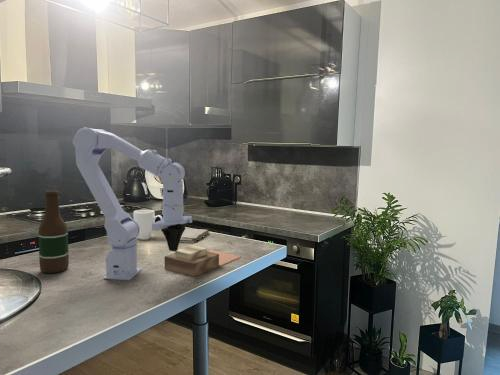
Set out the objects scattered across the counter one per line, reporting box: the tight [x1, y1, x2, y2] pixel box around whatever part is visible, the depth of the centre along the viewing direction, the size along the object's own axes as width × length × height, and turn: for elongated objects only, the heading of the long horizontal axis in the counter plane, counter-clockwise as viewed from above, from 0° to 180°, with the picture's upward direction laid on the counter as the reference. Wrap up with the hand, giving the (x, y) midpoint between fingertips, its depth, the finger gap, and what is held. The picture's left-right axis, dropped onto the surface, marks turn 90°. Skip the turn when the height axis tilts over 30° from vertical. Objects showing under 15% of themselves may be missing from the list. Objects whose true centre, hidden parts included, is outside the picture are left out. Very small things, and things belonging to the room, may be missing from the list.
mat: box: [207, 249, 242, 267], centre depth 125 cm, size 12×13×1 cm
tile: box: [174, 244, 208, 261], centre depth 114 cm, size 8×6×2 cm
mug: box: [133, 208, 163, 241], centre depth 149 cm, size 12×8×11 cm
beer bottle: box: [37, 189, 70, 274], centre depth 109 cm, size 8×8×24 cm
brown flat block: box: [164, 251, 220, 278], centre depth 115 cm, size 12×12×4 cm
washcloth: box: [179, 227, 210, 244], centre depth 152 cm, size 12×18×3 cm, turn 167°
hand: (173, 250), depth 107 cm, fingers closed
